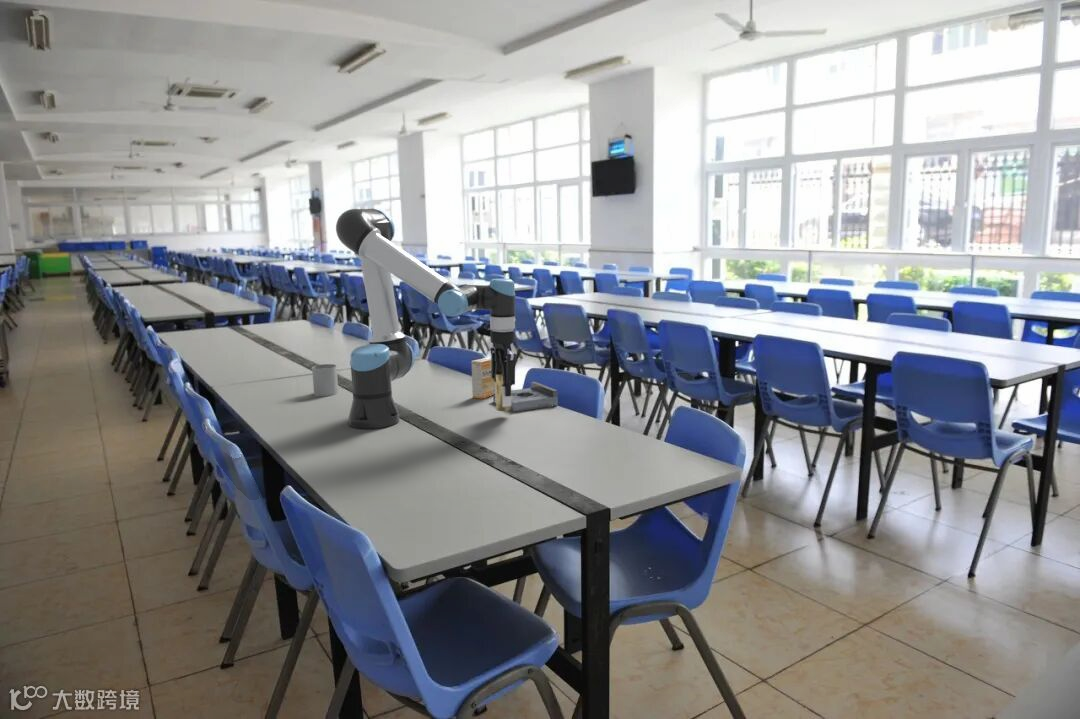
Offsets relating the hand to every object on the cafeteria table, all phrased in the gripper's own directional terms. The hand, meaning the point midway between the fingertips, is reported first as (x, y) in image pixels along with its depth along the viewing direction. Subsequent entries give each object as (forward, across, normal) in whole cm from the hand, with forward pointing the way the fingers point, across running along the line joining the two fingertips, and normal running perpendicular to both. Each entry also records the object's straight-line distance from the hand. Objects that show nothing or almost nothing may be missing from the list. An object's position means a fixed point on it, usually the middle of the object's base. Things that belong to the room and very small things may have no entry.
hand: (503, 404), depth 232 cm
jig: (+4, +12, -14) cm, 18 cm away
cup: (+6, +64, +40) cm, 76 cm away
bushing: (+2, 0, 0) cm, 2 cm away
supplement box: (+5, +28, -6) cm, 30 cm away
